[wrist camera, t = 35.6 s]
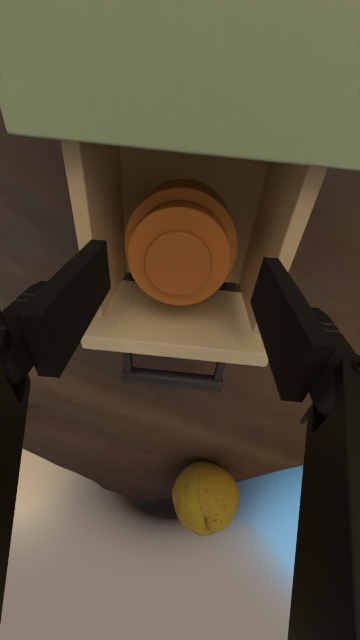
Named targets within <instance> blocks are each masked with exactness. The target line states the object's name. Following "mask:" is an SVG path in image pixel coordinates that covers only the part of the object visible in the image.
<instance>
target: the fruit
mask: <svg viewBox="0 0 360 640" xmlns="http://www.w3.org/2000/svg"><path fill="white" fill-rule="evenodd" d="M172 498H173V503H174V507H175V511H176V514H177V517H178V518H179V520H180V522H181V523H182V524H183V525H184V526H185V527H186V528H187V529H188V530H190V531H192V532H194V533H195V534H197V535H199V536H207V535H211V534H213V533H215V532H217V531H221V530H224V529H226V528H227V527H228V526H229V524H230V523H231V521H232V519H233V517H234V514H235V513H236V511H237V508H238V501H239V490H238V487H237V485H236V483H235V481H234V479H233V478H232V476H231V475H230V474H229V473H228V472H227V471H225V470H224V469H222V468H220V467H218V466H216V465H215V464H212V463H209V462H205V461H197V462H194V463H191V464H190V465H188V466H187V467H185V468H184V469H183V470H182V472H181V473H180V474H179V476H178V477H177V479H176V481H175V484H174V486H173V490H172Z"/></svg>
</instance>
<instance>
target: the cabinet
mask: <svg viewBox="0 0 360 640" xmlns="http://www.w3.org/2000/svg"><path fill="white" fill-rule="evenodd" d="M0 108H1V111H2V115H3V119H4V123H5V126H6V130H7V133H8V134H10V135H16V136H25V137H35V138H44V139H54V140H63V141H73V142H83V143H92V144H102V145H111V146H121V147H131V148H140V149H150V150H159V151H169V152H178V153H188V154H198V155H207V156H217V157H226V158H236V159H246V160H255V161H265V162H274V163H284V164H293V165H303V166H313V167H322V168H332V169H341V170H351V171H360V0H0Z"/></svg>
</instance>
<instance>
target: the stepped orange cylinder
mask: <svg viewBox="0 0 360 640" xmlns="http://www.w3.org/2000/svg"><path fill="white" fill-rule="evenodd" d="M124 245H125V253H126V257H127V260H128V266H129V269H130V272H131V274H132V276H133V278H134V280H135V282H136V283H137V284H138V286H139V287H140V288H141V289H142V290H143V291H144V292H145V293H147V294H148V295H149V296H151V297H152V298H154V299H156V300H158V301H160V302H163V303H166V304H171V305H190V304H195V303H198V302H201V301H203V300H205V299H207V298H208V297H210V296H211V295H213V294H214V293H215V292H216V291H217V290H218V289H219V288H220V287H221V286H222V284H223V283H224V281H225V279H226V278H227V276H228V274H229V273H230V271H231V269H232V267H233V265H234V263H235V260H236V256H237V249H238V238H237V232H236V228H235V225H234V222H233V220H232V218H231V215H230V213H229V210H228V208H227V206H226V204H225V202H224V201H223V199H222V198H221V197H220V196H219V194H218V193H217V192H215V191H214V190H213V189H212V188H210V187H209V186H207V185H206V184H203V183H201V182H199V181H195V180H190V179H176V180H171V181H168V182H165V183H163V184H161V185H159V186H157V187H156V188H154V189H153V190H152V191H151V192H150V193H149V194H148V195H147V196H146V197H145V198H144V199H143V201H142V202H141V203H140V204H139V205H138V206H137V208H136V209H135V210H134V212H133V213H132V215H131V217H130V219H129V221H128V224H127V227H126V231H125V238H124Z"/></svg>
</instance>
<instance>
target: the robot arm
mask: <svg viewBox="0 0 360 640" xmlns="http://www.w3.org/2000/svg"><path fill="white" fill-rule="evenodd" d="M110 289H111V282H110V272H109V262H108V252H107V242H106V241H105V240H95V239H91V240H90V241H89V242H88V243H87V244H86V245H85V246H84V247H83V248H82V249H81V250H80V251H79V252H78V253H77V254H76V255H75V256H74V257H73V258H72V259H71V260H70V261H68V262H67V263H66V264H65V265H64V266H63V267H62V268H61V269H60V270H59V271H58V272H57V273H56V274H55V275H54V276H53V277H52V278H51V279H50V280H49V281H40V282H38V283H36V284H34V285H32V286H30V287H29V288H28V289H27V290H26V291H24V292H23V293H22V295H20V296H19V297H18V298H17V299H16V301H13V302H12V303H11V304H10V305H9V306H8V307H7V308H5V309H4V310H3V311H2V312H1V311H0V622H1V614H2V605H3V598H4V589H5V582H6V573H7V566H8V558H9V550H10V541H11V534H12V526H13V518H14V510H15V502H16V494H17V486H18V478H19V470H20V462H21V454H22V446H23V438H24V431H25V423H26V415H27V407H28V399H29V391H30V378H29V375H28V373H29V371H30V370H31V368H32V367H33V366H35V368H36V371H37V373H38V376H46V377H56V378H60V376H61V374H62V372H63V371H64V369H65V367H66V366H67V364H68V362H69V360H70V359H71V357H72V355H73V353H74V352H75V350H76V348H77V346H78V345H79V343H80V341H81V339H82V338H83V336H84V334H85V332H86V331H87V329H88V327H89V325H90V324H91V322H92V320H93V318H94V317H95V315H96V313H97V311H98V310H99V308H100V306H101V304H102V303H103V301H104V299H105V297H106V296H107V294H108V292H109V290H110ZM250 303H251V307H252V310H253V313H254V316H255V319H256V322H257V326H258V329H259V332H260V335H261V338H262V341H263V345H264V348H265V351H266V354H267V357H268V360H269V364H270V367H271V370H272V373H273V376H274V379H275V383H276V386H277V389H278V392H279V395H280V398H281V400H285V401H295V402H302V401H303V400H304V398H305V397H306V395H307V393H308V392H309V394H310V396H311V398H312V401H313V403H312V404H311V406H310V407H309V409H308V410H307V412H306V413H305V415H304V416H303V417H302V419H301V422H300V423H302V424H304V422H305V421H306V420H307V419H308V421H307V432H306V443H305V454H304V465H303V477H302V488H301V498H300V510H299V521H298V531H297V543H296V553H295V564H294V576H293V586H292V597H291V608H290V619H289V630H288V640H360V355H357V354H356V353H355V352H354V350H353V349H352V347H351V346H350V345H349V343H348V342H347V341H346V339H345V338H344V336H343V335H342V334H341V333H339V330H338V328H337V327H336V326H334V323H333V321H332V320H331V319H330V317H329V316H328V315H327V314H325V313H324V312H323V311H322V310H320V309H319V308H312V307H310V305H309V304H308V302H307V301H306V299H305V298H304V296H303V295H302V293H301V292H300V290H299V289H298V287H297V286H296V284H295V283H294V281H293V280H292V278H291V277H290V275H289V273H288V272H287V270H286V269H285V267H284V266H283V264H282V263H281V261H280V260H279V258H271V257H263V261H262V264H261V267H260V271H259V274H258V277H257V280H256V284H255V287H254V290H253V294H252V297H251V300H250Z"/></svg>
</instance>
